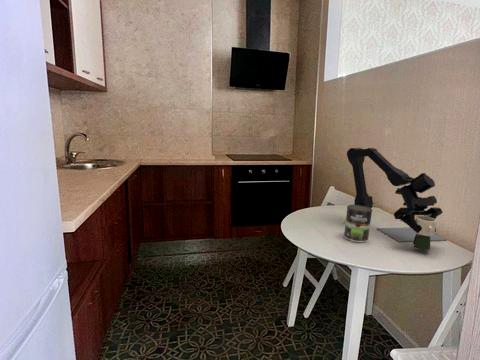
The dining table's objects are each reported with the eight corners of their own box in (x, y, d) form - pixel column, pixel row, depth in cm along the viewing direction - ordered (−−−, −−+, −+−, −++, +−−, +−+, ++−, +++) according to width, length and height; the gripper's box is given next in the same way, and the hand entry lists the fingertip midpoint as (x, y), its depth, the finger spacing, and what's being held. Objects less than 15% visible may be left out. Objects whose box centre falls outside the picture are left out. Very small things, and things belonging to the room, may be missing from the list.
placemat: (399, 242, 127) (399, 241, 127) (376, 229, 143) (376, 228, 143) (446, 240, 131) (446, 239, 131) (419, 228, 147) (419, 227, 147)
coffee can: (368, 244, 124) (373, 212, 121) (343, 240, 128) (346, 209, 125) (367, 236, 133) (371, 206, 131) (344, 232, 137) (347, 203, 134)
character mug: (406, 242, 125) (411, 213, 122) (423, 244, 124) (429, 215, 121) (417, 253, 114) (422, 222, 112) (436, 255, 113) (442, 223, 111)
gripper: (403, 188, 117) (419, 224, 108) (443, 188, 120) (462, 223, 111) (387, 201, 126) (401, 235, 117) (425, 201, 129) (441, 234, 120)
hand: (426, 232), depth 116 cm, fingers closed on character mug, 7 cm apart
